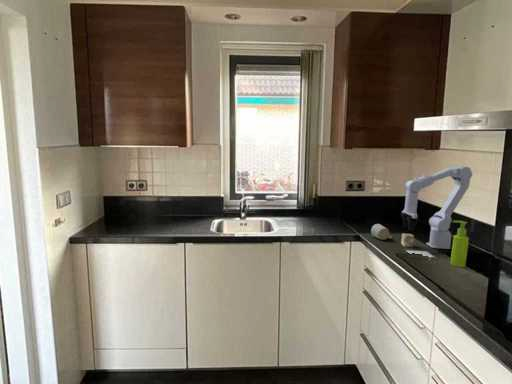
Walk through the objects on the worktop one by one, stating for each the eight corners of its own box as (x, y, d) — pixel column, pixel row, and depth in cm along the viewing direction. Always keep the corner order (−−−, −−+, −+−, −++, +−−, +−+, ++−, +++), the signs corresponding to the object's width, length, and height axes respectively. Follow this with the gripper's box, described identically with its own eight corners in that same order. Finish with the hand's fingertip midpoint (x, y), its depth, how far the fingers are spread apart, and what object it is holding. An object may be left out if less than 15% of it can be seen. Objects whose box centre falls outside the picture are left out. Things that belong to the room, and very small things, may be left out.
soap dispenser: (448, 261, 157) (454, 219, 154) (466, 264, 153) (471, 221, 150) (446, 264, 153) (451, 221, 150) (464, 268, 148) (469, 223, 145)
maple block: (409, 244, 182) (410, 233, 181) (412, 247, 177) (413, 236, 176) (400, 244, 182) (402, 233, 181) (403, 246, 177) (404, 235, 177)
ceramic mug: (378, 240, 187) (379, 227, 186) (370, 236, 195) (371, 223, 194) (395, 240, 189) (396, 227, 188) (386, 236, 197) (387, 223, 196)
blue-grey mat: (427, 251, 170) (427, 251, 170) (437, 259, 158) (437, 259, 158) (398, 250, 171) (398, 249, 171) (406, 257, 159) (406, 257, 159)
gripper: (398, 200, 184) (396, 225, 186) (408, 205, 169) (405, 231, 171) (412, 201, 183) (409, 225, 185) (422, 206, 169) (419, 232, 171)
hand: (408, 228), depth 178 cm, fingers open, 7 cm apart
